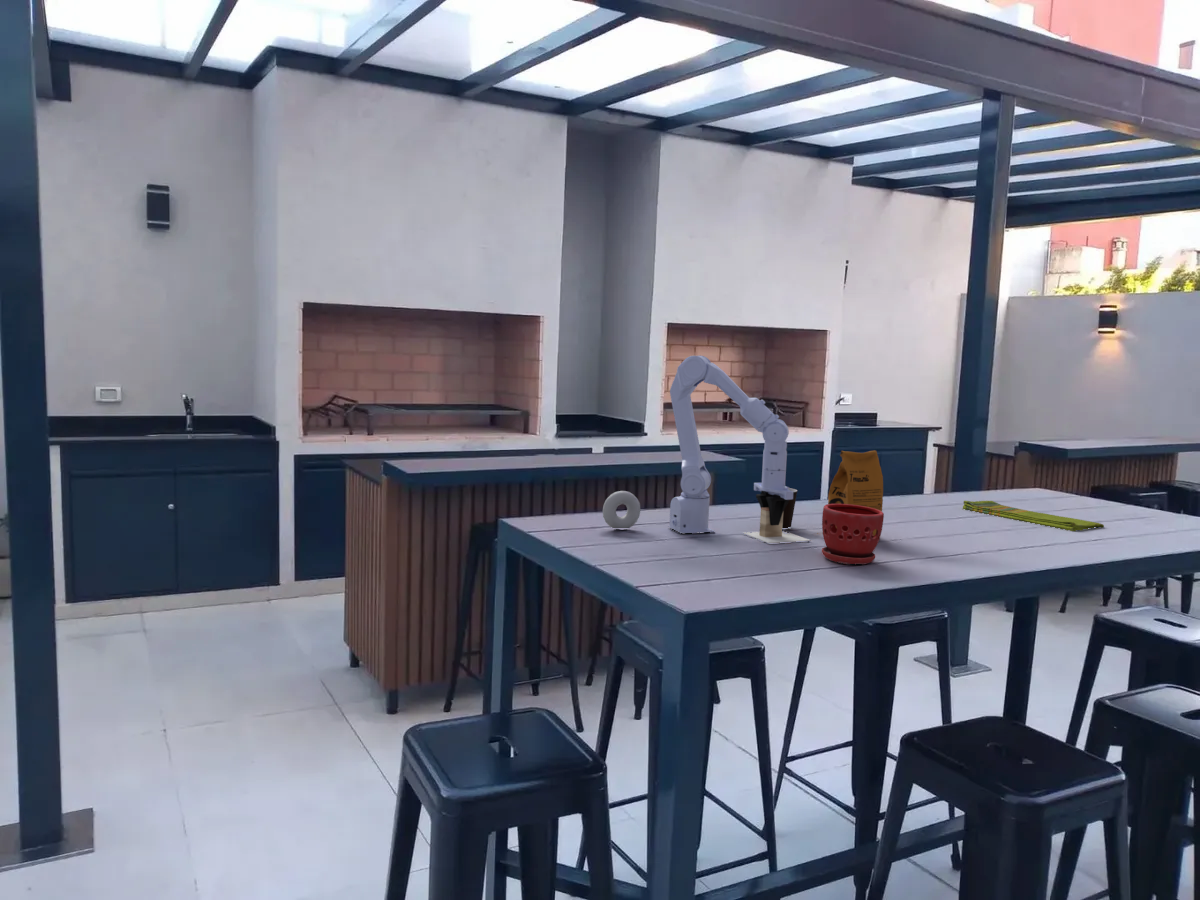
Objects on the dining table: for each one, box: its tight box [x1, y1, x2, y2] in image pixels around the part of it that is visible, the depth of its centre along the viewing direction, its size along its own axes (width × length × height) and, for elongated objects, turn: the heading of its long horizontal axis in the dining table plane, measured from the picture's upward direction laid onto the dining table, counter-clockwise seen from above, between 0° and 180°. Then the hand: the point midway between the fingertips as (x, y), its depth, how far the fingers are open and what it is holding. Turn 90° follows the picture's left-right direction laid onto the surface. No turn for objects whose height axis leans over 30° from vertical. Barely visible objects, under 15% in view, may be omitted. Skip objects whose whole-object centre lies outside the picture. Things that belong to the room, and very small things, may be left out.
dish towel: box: [962, 500, 1105, 532], centre depth 268 cm, size 15×36×3 cm, turn 31°
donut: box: [602, 490, 641, 529], centre depth 230 cm, size 10×4×10 cm, turn 110°
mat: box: [743, 530, 812, 543], centre depth 228 cm, size 12×12×1 cm
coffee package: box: [827, 450, 884, 536], centre depth 230 cm, size 10×12×22 cm
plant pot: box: [821, 503, 885, 566], centre depth 205 cm, size 13×13×12 cm
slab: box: [759, 507, 783, 537], centre depth 228 cm, size 5×2×7 cm, turn 113°
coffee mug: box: [782, 487, 798, 528], centre depth 242 cm, size 12×9×10 cm
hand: (771, 523), depth 228 cm, fingers closed on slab, 2 cm apart
